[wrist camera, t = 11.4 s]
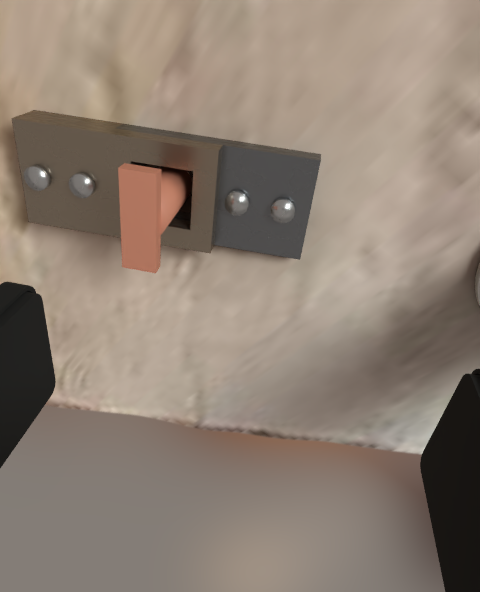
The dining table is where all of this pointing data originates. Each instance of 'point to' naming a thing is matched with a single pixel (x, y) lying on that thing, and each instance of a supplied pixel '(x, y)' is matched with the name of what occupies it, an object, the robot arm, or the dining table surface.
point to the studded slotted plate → (175, 154)
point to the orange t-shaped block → (148, 211)
